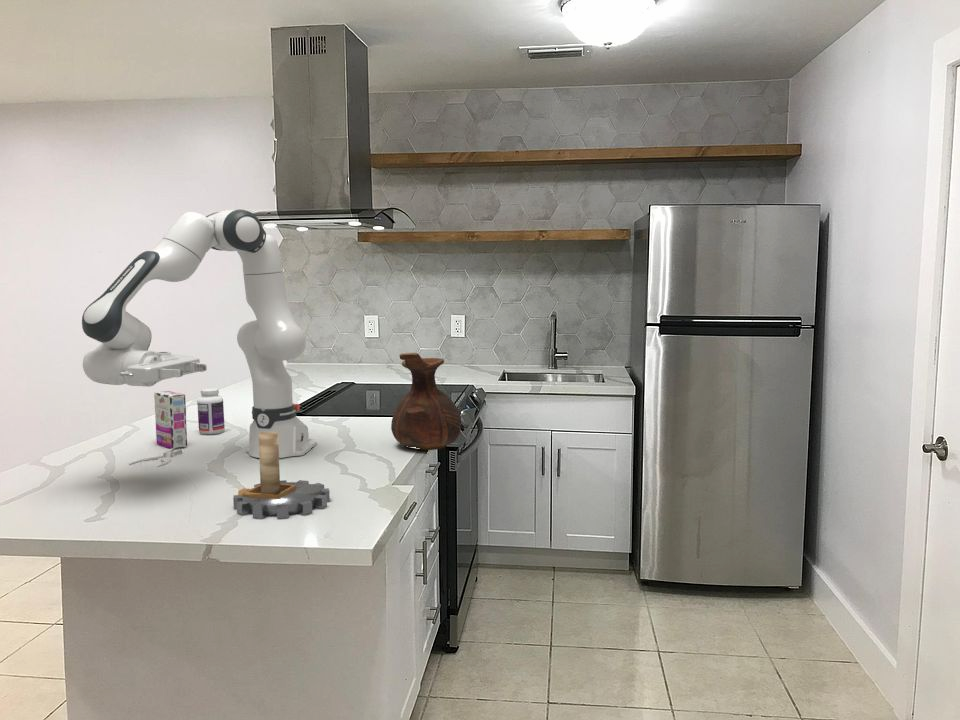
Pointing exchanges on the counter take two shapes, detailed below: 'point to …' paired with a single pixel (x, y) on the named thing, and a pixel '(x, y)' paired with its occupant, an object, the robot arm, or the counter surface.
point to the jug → (425, 408)
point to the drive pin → (269, 463)
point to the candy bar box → (170, 419)
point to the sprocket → (282, 500)
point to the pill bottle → (210, 412)
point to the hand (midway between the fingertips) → (193, 370)
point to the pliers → (166, 454)
